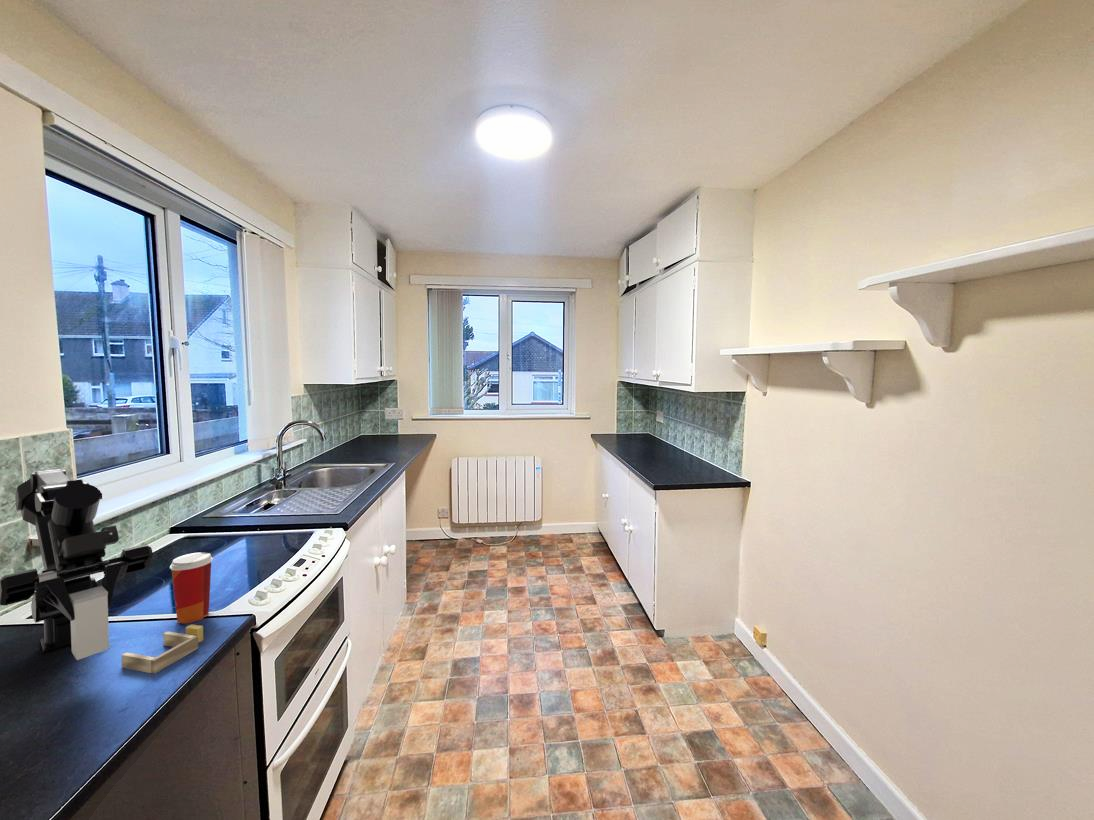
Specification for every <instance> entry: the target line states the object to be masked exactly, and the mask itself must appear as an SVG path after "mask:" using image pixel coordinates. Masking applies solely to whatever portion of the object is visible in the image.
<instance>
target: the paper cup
mask: <svg viewBox="0 0 1094 820" xmlns="http://www.w3.org/2000/svg"><path fill="white" fill-rule="evenodd" d="M213 560H214V558H213V557H212V555H211V553H210V552H209V553H208V552H201V551H200V552H199V551H198V552H193V553H187V554H184V555H180V556H178V557H176V558H173V560H172V562H171V564H170V566H169V569H170V570H171V575H172V586H173V595H174V604H175V605H174V606H175V614H176V620H177V623H179V624H185V625H186V624H190V623H191V624H192V623H195V621H196V622H198V620H199V621H200V620H203V619H205V618H206V617H207V616H208V615H209V611H210V598H211V597H210V595H211V578H212V576H211V574H212V573H211V572H212V562H213ZM207 614H208V615H207ZM206 615H207V616H206ZM205 616H206V617H205ZM204 617H205V618H204Z"/></svg>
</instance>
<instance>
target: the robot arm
mask: <svg viewBox="0 0 1094 820" xmlns="http://www.w3.org/2000/svg"><path fill="white" fill-rule="evenodd" d="M14 498H15V499H14V503H15V511H17V512H18V511H19V512H20V513H21V517H22V520H23V521H25V522H27V523H29V524H31V525H34V526H35V531H36V535H37V541H38V545H39V550H40V556H41V560H42V565H43V569H44V570H42V571H41V573H38V569H37V568H32V569H27V570H22V571H17V572H14V573H9V574H4V575H3V576H2V577H1V578H0V606H3V607H4V606H8V605H13V604H17V603H20V602H24V601H28V600H30V599H31V598H32V600H31V604H30V607H31V617H32V619H33V621H34V622H35V624H36V623H37V624H38V623H40V622H43V633H44V634H43V635H44V637H42V638H41V639H40V644H41V649H42V653H44V652H45V653H46V652H49V651H52V650H55V649H59V648H62V647H66V646H68V645H71V621H72V620H74V619H75V615H74V609H73V606H72V604H71V601H70V598H69V594H72V593H76V592H80V591H84V590H87V589H91V588H95V587H99V586H103V587H104V588H105V589H106V591H107V592H108V595H107V598H108V611H109V610H110V608H111V605H112V601H113V600H112V599H113V595H114V592H115V591H114V590H115V586H116V583H117V582H118V581H121V580H123V579H124V578H125V576H126V575H131V574H135V573H138V572H141V571H142V572H143V571H145V570H146V569H148V568H149V567H150V565H151V564H150V563H151V561H152V558H153V556H154V553H153V550H152V547H151V546H149V545H147V544H141V545H137V546H133V547H128V548H124V549H122V551H121V554H120V556H119V557H115V558H110V559H106V560H103V558H104V557H105V556H106V549H107V546H110V545H115V544H116V543H118V542H119V536H120V535H119V531H118V529H117V525H116V524H114V525H110V526H109V525H108V526H103V527H102V528H101V529H100V530H99V531H96V529H95V524H94V519H95V518H96V516H97V513H98V508H99V506H100V505H99V504H100V501H101V500H103V492H101V490H100V489H99V488H98V487H96V486H95V485H92V484H89V482H88V481H85V480H83V479H82V478H79V479H78V478H77V479H72V480H71V479H70V477H68V476H67V471H66V470H65V469H61V468H58V469H57V468H56V469H49V470H48V469H47V470H45V469H44V470H36V471H34V472H30V475H29V479H27V480H26V481H24V482H22V483H21V484H19V485H18V486H17V487H16V489H15V497H14ZM99 573H103V574H104V575H103V578H102V584H101V585H100V583H99V582H98V581H97V580H96V578H95V577H91V575H94V574H99ZM70 620H71V621H70Z"/></svg>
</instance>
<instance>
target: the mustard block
mask: <svg viewBox="0 0 1094 820" xmlns="http://www.w3.org/2000/svg"><path fill="white" fill-rule="evenodd" d="M185 634H187V635H193V636H198V644H199V643H201V642H202V641H204V626H203V625H199V624H198V625H197V624H194V623H193V624H192V623H191V624H189V625H187V626H185Z"/></svg>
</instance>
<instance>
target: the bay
mask: <svg viewBox="0 0 1094 820" xmlns="http://www.w3.org/2000/svg"><path fill="white" fill-rule="evenodd" d="M162 636H163V637H162V639H163V641H162V642H163V646H166V647H170V648H171V649H168V650H166V651H165V652H163V653H161V654H159V655H158V656H156V657H155V656H149V655H144V654H137V653H132V652H124V653H122V654H121V668H122V669H126V670H127V669H128V670H132V671H138V672H142V673H148V674H157V673H159V672H160V671H162V670H164V669H165V668H166V667H169V666H170V665H172V664H173V663H174V664H175V663H176V662H178V661H179V660H181V659H183V658H184V657H185V656H188V655H189V654H191V653H193V652H194V651H196V650H198V649H199V643H198V636H193V635H187V634H186V633H179V632H175V631H174V632H173V631H168V630H167V631H165V632H163V633H162Z"/></svg>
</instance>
